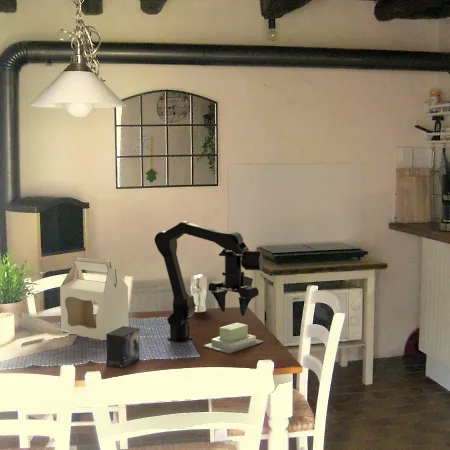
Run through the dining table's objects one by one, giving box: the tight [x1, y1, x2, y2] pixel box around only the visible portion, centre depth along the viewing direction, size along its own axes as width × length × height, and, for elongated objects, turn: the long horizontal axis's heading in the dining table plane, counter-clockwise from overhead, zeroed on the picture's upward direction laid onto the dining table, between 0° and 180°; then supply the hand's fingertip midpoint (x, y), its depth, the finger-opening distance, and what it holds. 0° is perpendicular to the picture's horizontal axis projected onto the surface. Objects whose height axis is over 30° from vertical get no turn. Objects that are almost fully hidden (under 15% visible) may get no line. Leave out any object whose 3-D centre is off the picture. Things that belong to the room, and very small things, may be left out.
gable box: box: [59, 256, 130, 341], centre depth 232 cm, size 22×13×28 cm, turn 59°
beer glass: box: [190, 274, 208, 313], centre depth 266 cm, size 7×7×15 cm
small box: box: [105, 326, 140, 369], centre depth 197 cm, size 11×6×10 cm, turn 158°
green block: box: [219, 322, 249, 343], centre depth 217 cm, size 5×9×6 cm, turn 138°
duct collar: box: [202, 333, 264, 355], centre depth 217 cm, size 18×12×2 cm, turn 137°
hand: (233, 313), depth 216 cm, fingers open, 9 cm apart
